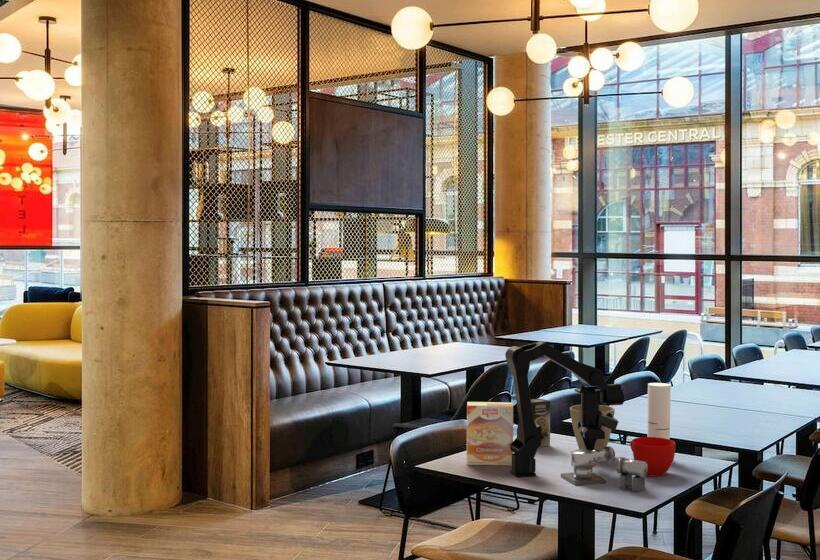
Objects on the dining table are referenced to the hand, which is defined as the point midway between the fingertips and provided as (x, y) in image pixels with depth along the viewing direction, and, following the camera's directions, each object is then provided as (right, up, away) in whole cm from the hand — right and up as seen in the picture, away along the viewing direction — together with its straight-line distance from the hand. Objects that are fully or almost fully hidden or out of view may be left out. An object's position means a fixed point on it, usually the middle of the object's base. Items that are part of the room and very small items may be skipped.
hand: (590, 455), depth 277 cm
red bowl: (+18, -5, -2) cm, 19 cm away
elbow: (-1, -1, -9) cm, 9 cm away
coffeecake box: (-31, -4, +9) cm, 33 cm away
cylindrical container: (+25, -4, +13) cm, 29 cm away
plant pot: (+5, -4, +20) cm, 21 cm away
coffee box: (-13, -3, +34) cm, 36 cm away
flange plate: (-5, -5, -11) cm, 13 cm away
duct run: (+8, -5, -22) cm, 24 cm away
